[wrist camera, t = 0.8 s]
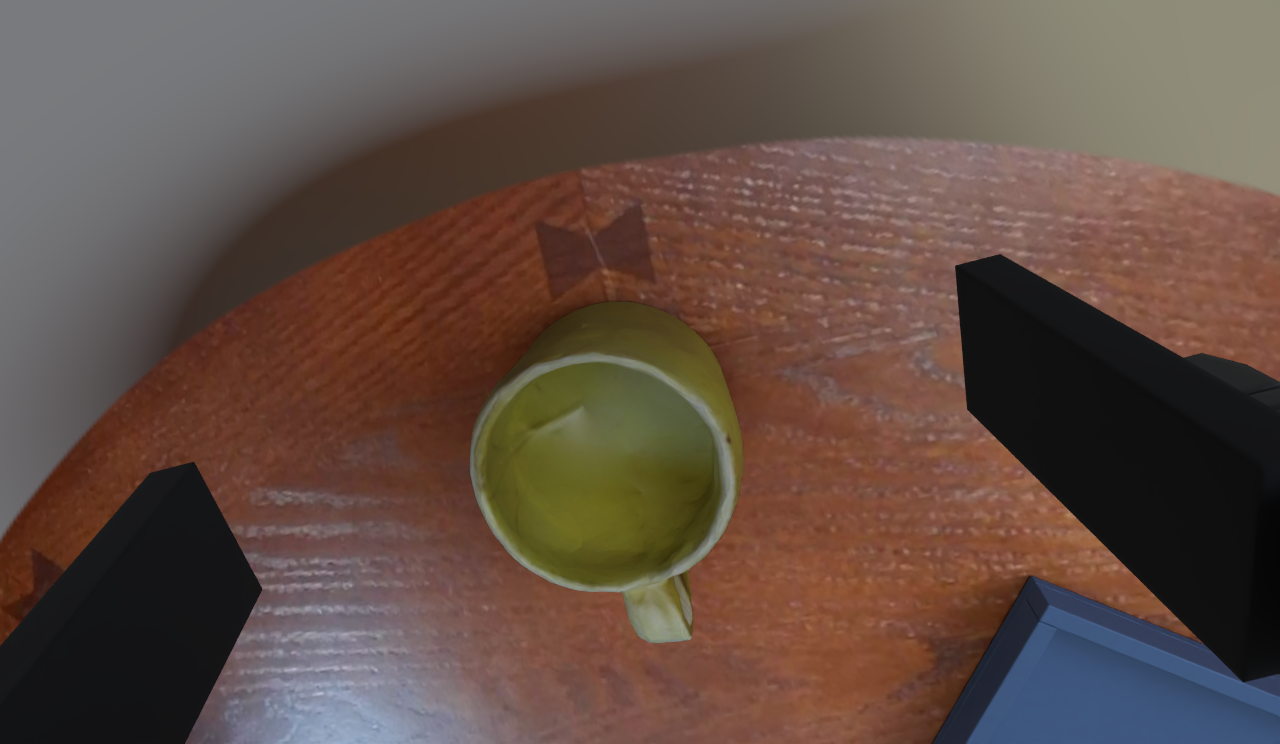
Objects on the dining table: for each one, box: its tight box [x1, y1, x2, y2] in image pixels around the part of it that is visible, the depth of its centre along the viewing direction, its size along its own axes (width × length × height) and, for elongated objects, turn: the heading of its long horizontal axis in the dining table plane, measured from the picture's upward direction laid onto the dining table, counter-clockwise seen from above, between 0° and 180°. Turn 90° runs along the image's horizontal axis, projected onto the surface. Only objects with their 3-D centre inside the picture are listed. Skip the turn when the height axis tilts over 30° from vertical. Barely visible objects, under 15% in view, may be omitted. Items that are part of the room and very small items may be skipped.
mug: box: [470, 301, 743, 643], centre depth 32 cm, size 12×10×10 cm
